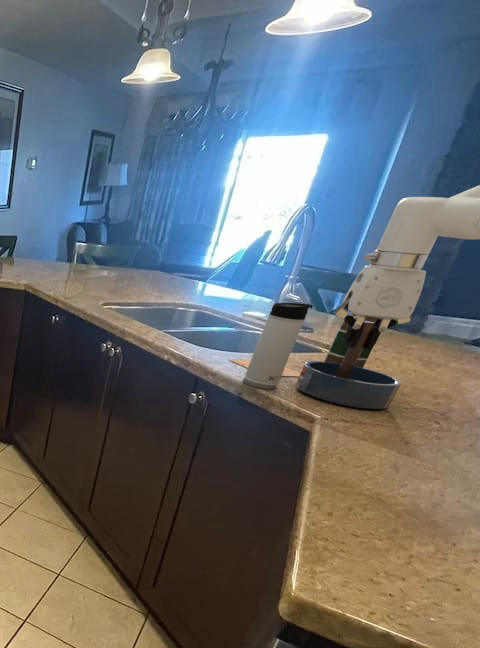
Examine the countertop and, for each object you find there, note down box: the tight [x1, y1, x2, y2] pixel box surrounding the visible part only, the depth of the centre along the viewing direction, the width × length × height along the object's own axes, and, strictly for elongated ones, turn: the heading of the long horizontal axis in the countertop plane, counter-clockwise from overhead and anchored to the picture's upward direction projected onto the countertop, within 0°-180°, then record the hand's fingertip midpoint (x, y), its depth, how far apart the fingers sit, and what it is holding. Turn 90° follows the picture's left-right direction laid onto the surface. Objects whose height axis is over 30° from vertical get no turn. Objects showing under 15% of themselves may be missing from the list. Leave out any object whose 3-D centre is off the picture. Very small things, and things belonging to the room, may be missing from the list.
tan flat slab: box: [229, 359, 301, 377], centre depth 128 cm, size 12×12×4 cm
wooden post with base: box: [336, 321, 375, 379], centre depth 109 cm, size 5×5×15 cm
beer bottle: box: [324, 313, 376, 368], centre depth 124 cm, size 8×8×24 cm
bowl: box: [294, 360, 402, 410], centre depth 110 cm, size 16×16×6 cm
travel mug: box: [242, 302, 313, 390], centre depth 113 cm, size 6×7×20 cm
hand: (356, 346), depth 108 cm, fingers closed on wooden post with base
